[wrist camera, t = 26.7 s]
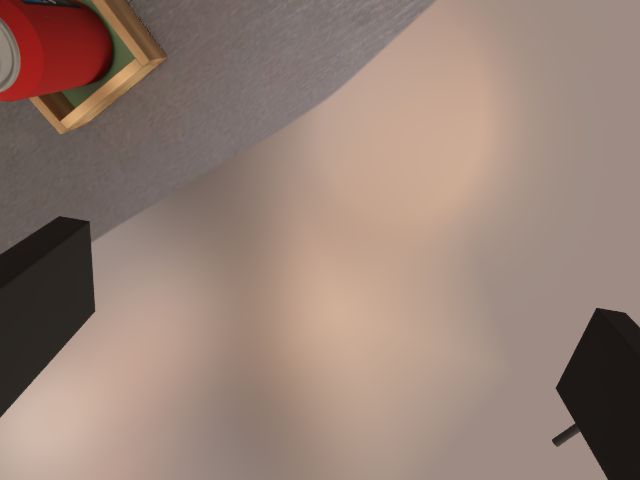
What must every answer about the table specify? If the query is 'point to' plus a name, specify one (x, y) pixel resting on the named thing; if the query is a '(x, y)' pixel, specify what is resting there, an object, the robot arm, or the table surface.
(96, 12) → the wooden storage box
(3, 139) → the table surface
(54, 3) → the beverage can
